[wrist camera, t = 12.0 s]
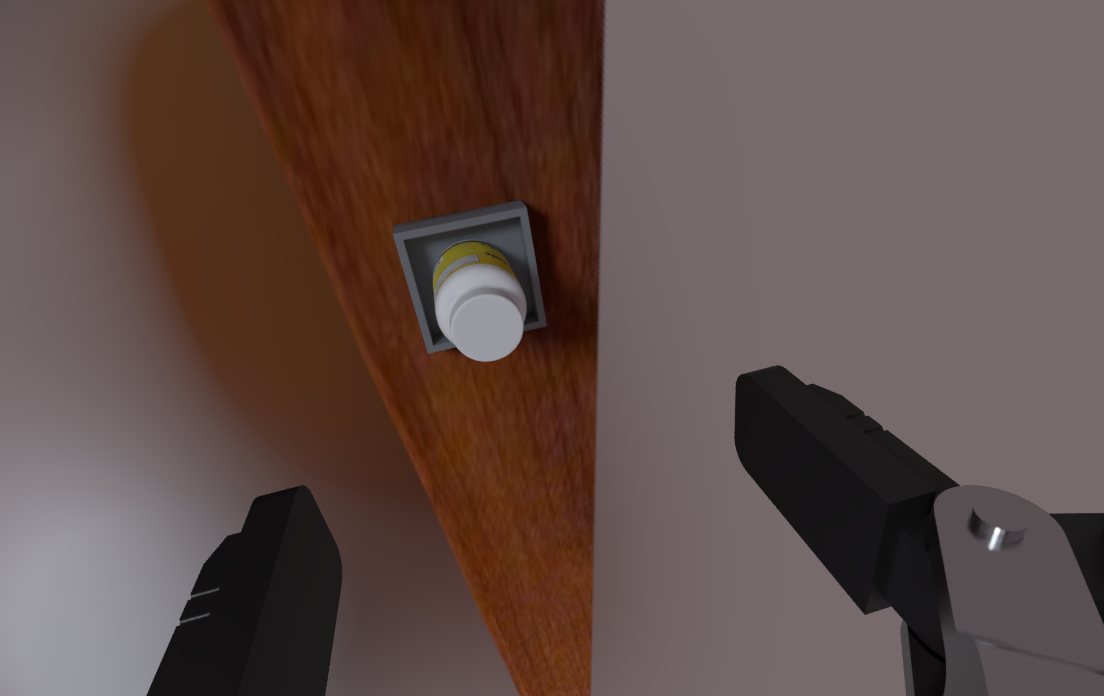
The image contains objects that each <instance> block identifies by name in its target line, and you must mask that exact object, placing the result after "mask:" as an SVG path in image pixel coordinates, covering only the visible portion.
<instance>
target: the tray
mask: <svg viewBox="0 0 1104 696" xmlns="http://www.w3.org/2000/svg"><path fill="white" fill-rule="evenodd" d="M393 236H394V239H395V243H396V246H397V250H398V253H399V257H400V260H401V263H402V267H403V270H404V274H405V277H406V280H407V284H408V287H409V291H410V294H411V297H412V301H413V304H414V308H415V311H416V314H417V318H418V321H419V325H420V328H421V331H422V335H423V338H424V342H425V345H426V349H427V352H428V354H429V353H433V352H437V351H442V350H446V349H450V348H455V347H456V345H454V344H453V343H452V342H451V341H449V340H448V339H447V338H446V336H445V335H444V334H443V332H442V331H441V329H440V327H439V325H438V322H437V318H436V313H435V301H434V291H433V270H434V266H435V263H436V261H437V259H438V257H439V256H440V255H441V253H442V252H443V251H444V250H445V249H446V248H448V247H449V246H451V245H452V244H454V243H456V242H459V241H463V240H470V239H474V240H481V241H485V242H487V243H489V244H491V245H493V246H494V247H496V248H497V249H498V250H499V251H500V252H501V253H502V254H503V255H504V257H505V258H506V260H507V262H508V263H509V265H510V267H511V269H512V271H513V272H514V274H515V276H516V278H517V280H518V282H519V284H520V286H521V288H522V290H523V292H524V295H525V299H526V306H527V310H526V317H525V321H524V329H523V332H524V331H528V330H532V329H536V328H541V327H545V326H547V323H546V318H545V312H544V306H543V300H542V294H541V288H540V283H539V277H538V271H537V265H536V259H535V253H534V247H533V242H532V236H531V230H530V224H529V218H528V212H527V207H526V206H525V205H524V203H523V202H522V201H521V200H518V201H513V202H508V203H503V204H498V205H493V206H488V207H483V208H478V209H473V210H468V211H463V212H458V213H453V214H448V215H443V216H438V217H433V218H428V219H424V220H419V221H414V222H409V223H404V224H399V225H395V226H394V231H393Z"/></svg>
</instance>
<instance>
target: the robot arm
mask: <svg viewBox="0 0 1104 696" xmlns="http://www.w3.org/2000/svg"><path fill="white" fill-rule="evenodd" d="M735 399H736V400H735V436H734V437H735V446H736V450H737V454H738V457H739V459H740V461H741V463H742V465H743V467H744V468H745V470H746V471H747V472H748V474H749V475H750V476H751V477H752V478H753V480H754V481H755V482H756V483H757V484H758V486H759V487H760V488H761V489H762V491H763V492H764V493H765V494H766V495H767V497H768V498H769V499H770V500H771V501H772V503H773V504H774V505H775V506H776V508H777V509H778V510H779V511H780V512H781V514H782V515H783V516H784V517H785V518H786V520H787V521H788V522H789V523H790V525H791V526H792V527H793V528H794V529H795V531H796V532H797V533H798V534H799V536H800V537H801V538H802V539H803V540H804V542H805V543H806V544H807V545H808V546H809V548H810V549H811V550H812V551H813V552H814V553H815V555H816V556H817V557H818V559H819V560H820V561H821V562H822V563H823V565H824V566H825V567H826V568H827V569H828V571H829V572H830V573H831V574H832V575H833V577H834V578H835V579H836V580H837V582H838V583H839V584H840V585H841V587H842V588H843V589H844V590H845V591H846V593H847V594H848V595H849V596H850V597H851V598H852V600H853V601H854V602H855V604H856V605H857V606H858V607H859V608H860V610H861V611H862V612H863V613H864V614H865V615H866V614H869V613H872V612H875V611H879V610H881V609H885V608H888V607H890V606H892V607H893V608H894V610H895V611H896V612H897V613H898V614H899V615H900V616H901V618H902V619H903V621H902V625H901V632H900V635H901V645H902V656H903V666H904V677H905V687H906V696H1104V513H1078V514H1077V513H1075V514H1073V513H1071V514H1068V513H1067V514H1066V513H1065V514H1048V513H1047V512H1045V511H1044V510H1042V509H1041V508H1040V507H1038V506H1037V505H1035V504H1033V503H1031V502H1030V501H1028V500H1026V499H1024V498H1021V497H1020V496H1017V495H1015V494H1012V493H1009V492H1006V491H1003V490H1000V489H996V488H990V487H985V486H977V485H976V486H975V485H965V486H960V485H959V484H957V483H956V482H955V481H953V480H952V479H951V478H949V477H948V476H947V475H945V474H944V473H943V472H941V471H940V470H939V469H938V468H936V467H935V466H934V465H932V464H931V463H930V462H928V461H927V460H926V459H924V458H923V457H922V456H921V455H919V454H918V453H917V452H915V451H914V450H913V449H911V448H910V447H909V446H907V445H906V444H905V443H903V442H902V441H901V440H900V439H898V438H897V437H896V436H894V435H893V434H892V433H890V432H889V431H888V430H886V431H884V430H883V428H882V426H881V425H880V424H879V423H877V422H876V421H875V420H873V419H872V418H871V417H869V416H865V415H864V412H863V411H862V410H860V409H859V408H858V407H856V406H855V405H854V404H852V403H851V402H850V401H848V400H847V399H846V398H844V397H843V396H842V395H840V394H837V393H835V392H832V391H830V390H827V389H825V388H822V387H820V386H817V385H815V384H810V385H805V384H804V383H803V382H802V381H800V380H799V379H798V378H797V377H796V376H794V375H793V374H792V373H790V372H789V371H788V370H787V369H786V368H784V367H782V366H779V365H777V366H772V367H769V368H765V369H761V370H757V371H753V372H749V373H745V374H741V375H740V376H739V377H738V378H737V381H736V395H735ZM341 585H342V564H341V557H340V554H339V550H338V547H337V544H336V542H335V540H334V538H333V536H332V534H331V532H330V530H329V528H328V526H327V524H326V522H325V520H324V518H323V516H322V514H321V512H320V509H319V507H318V505H317V503H316V501H315V499H314V497H313V495H312V493H311V491H310V490H309V489H308V488H307V487H306V486H303V485H301V486H297V487H294V488H289V489H285V490H282V491H278V492H274V493H270V494H266V495H262V496H258V497H257V498H255V499H254V501H253V503H252V505H251V508H250V510H249V513H248V515H247V518H246V520H245V523H244V526H243V528H242V531H241V532H240V533H236V534H232V535H229V536H227V537H226V538H225V539H224V541H223V542H222V543H221V544H220V546H219V547H218V548H217V549H216V550H215V551H214V552H213V554H212V555H211V556H210V557H209V558H208V560H207V561H206V562H205V563H204V565H203V567H202V569H201V571H200V574H199V576H198V578H197V581H196V583H195V585H194V587H193V590H192V592H191V600H188V601H187V604H186V606H185V608H184V611H183V613H182V615H181V617H180V626H177V627H176V629H175V631H174V633H173V636H172V638H171V640H170V643H169V645H168V647H167V649H166V652H165V654H164V657H163V659H162V661H161V663H160V666H159V668H158V670H157V672H156V675H155V677H154V679H153V682H152V684H151V686H150V688H149V691H148V694H147V696H325V692H326V686H327V679H328V673H329V666H330V658H331V652H332V646H333V639H334V632H335V625H336V618H337V611H338V605H339V599H340V598H339V597H340V592H341Z"/></svg>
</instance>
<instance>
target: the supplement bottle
mask: <svg viewBox="0 0 1104 696" xmlns="http://www.w3.org/2000/svg"><path fill="white" fill-rule="evenodd" d="M433 291H434V301H435V313H436V318H437V322H438V325H439V327H440V329H441V331H442V332H443V334H444V335H445V336H446V338H447V339H448V340H449V341H451V342H452V343H453V344H454V345H456V347H457V348H458V349H459V351H460V352H462V353H463V354H464V355H466V356H467V357H469V358H471V359H474V360H477V361H494V360H498V359H501V358H503V357H505V356H507V355H508V354H510V353H511V352H512V351H513V350H514V349H515V348H516V347H517V345H518V344H519V342H520V340H521V338H522V335H523V329H524V321H525V317H526V310H527V306H526V299H525V295H524V292H523V290H522V288H521V286H520V284H519V282H518V280H517V278H516V276H515V274H514V272H513V271H512V269H511V267H510V265H509V263H508V262H507V260H506V258H505V257H504V255H503V254H502V253H501V252H500V251H499V250H498V249H497V248H496V247H494V246H493V245H491V244H489V243H487V242H485V241H481V240H474V239H470V240H463V241H459V242H456V243H454V244H452V245H451V246H449V247H448V248H446V249H445V250H444V251H443V252H442V253H441V255H440V256H439V257H438V259H437V261H436V263H435V266H434V270H433Z"/></svg>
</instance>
